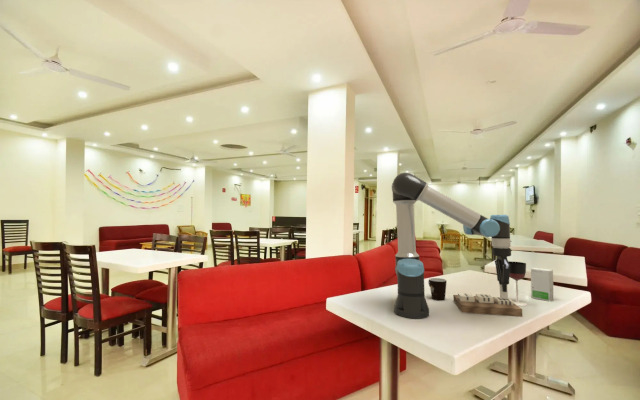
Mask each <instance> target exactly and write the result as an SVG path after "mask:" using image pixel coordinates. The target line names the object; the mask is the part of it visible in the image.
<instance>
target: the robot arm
mask: <svg viewBox="0 0 640 400" xmlns="http://www.w3.org/2000/svg"><path fill="white" fill-rule="evenodd" d="M392 181H393V182H392V184H391V191H392V203H394V204H395V206H396V207H395V208H396V229H397V231H396V232H397V233H396V234H397V252H396V254H395V255H394V257H395V266H394V270H395V271H394V272H395V274H396V277H397V296H396V299H395V303H394V307H393V311H394V313H395V315H397V314H398V315H397V316H399V315H400V317H402V316H403V318H407V319H424V318H428V317H429V316H430V308H429V304H428V302H427V300H426V296H425V267H424V263H423V261H421V260H420V255H419V254H418V253H417V251H416V250H417V248H416V245H417V244H416V230H415V229H416V227H415V208H414V207H415V206H414V204H415V203H416V202H418V201H420V202H422V203H423V204H425V205H426V206H429V207H430V208H431V209H432V208H433V209H434V210H436V211H437V212H440V213H442V214H444V215H445V216H446V217H449V218H451V219H453V220H454V221H456V222H458V223H460V224H462V229H463V232H464V234H465V235H471V236H483V237H486V238H491V246H492V248H491V252H492V253H491V254H492V255H493V256H495V257H496V259H495V260H494V264H495V273H496V278H497V281H498V284H499V297H500V298H501V299H508V298H509V296H508V295H509V294H508V293H509V292H508V285H509V284H510V276H509V275H510V264H508V262H509V260H508V257H511V256H512V248H511V245H512V244H511V243H512V240H511V228H510V226H511V223H510V216H509V215H507V214H491V215H490V218H488V217H486V216H485V215H482V214H480V213H479V212H476V211H475V210H473V209H471V208H469V207H467V206H465V205H464V204H462V203H460V202H458V201H456V200H455V199H452V198H451V197H449V196H447V195H445V194H443V193H441V192H440V191H438V190H437V189H434V188H432V187H431V186H429V185H428V182H426V181H424V180H422V179H421V178H419V177H418V176H416V175H414V174H412V173H410V172H402V173H399V174H397V175H396V176H395V178H394V179H393V180H392Z"/></svg>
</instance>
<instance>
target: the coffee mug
mask: <svg viewBox="0 0 640 400" xmlns="http://www.w3.org/2000/svg"><path fill="white" fill-rule="evenodd" d="M427 282H428V285H429V288H430V289H429V290H430V293H431V299H432V300H434V301H439V302H440V301H441V302H443V301H445V300H446V290H447V279H445V278H439V277H431V278H429V279H428V281H427Z"/></svg>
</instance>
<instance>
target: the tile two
mask: <svg viewBox="0 0 640 400" xmlns="http://www.w3.org/2000/svg"><path fill="white" fill-rule="evenodd" d="M475 296H476V300H477V301H478V302H479V303H494V298H493V297H494V296H492V295H491V294H483V293H475Z"/></svg>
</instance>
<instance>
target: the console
mask: <svg viewBox="0 0 640 400" xmlns="http://www.w3.org/2000/svg"><path fill="white" fill-rule="evenodd" d="M473 296H474V297H475V302H463V301H460V300H459V299H458V294H453V303H454V304H455V305H456V306H457V308H458V310H459V312H461V313H464V314H465V313H466V314H480V315H493V316H507V317H520V318H521V317H523V308H521V307H520V306H519V305H516V304H514V305H504V304H497V303H496V302H495V301H494V303H479V302H478V301H477V300H476V295H473ZM492 297H493V298H494V297H495V296H492Z"/></svg>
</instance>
